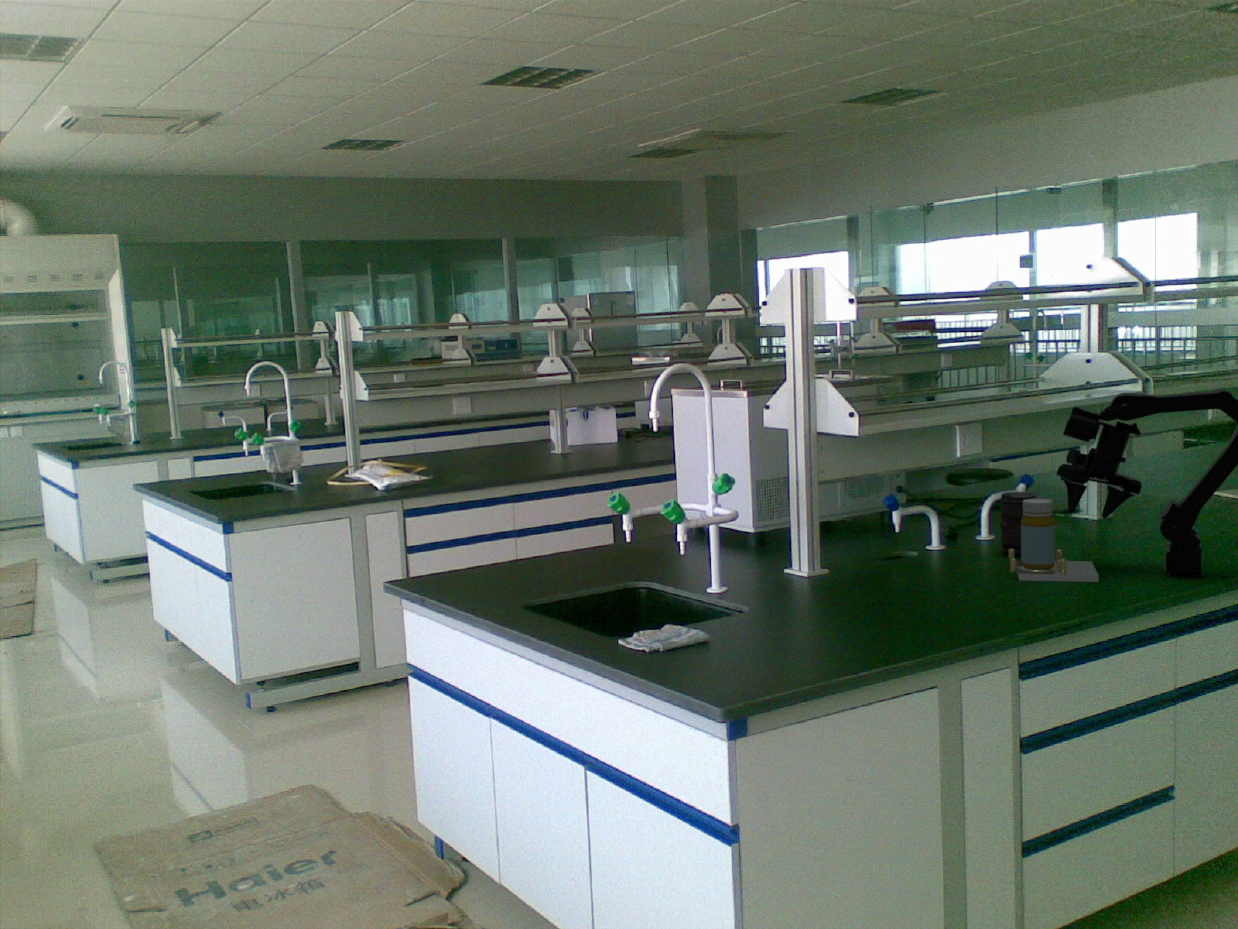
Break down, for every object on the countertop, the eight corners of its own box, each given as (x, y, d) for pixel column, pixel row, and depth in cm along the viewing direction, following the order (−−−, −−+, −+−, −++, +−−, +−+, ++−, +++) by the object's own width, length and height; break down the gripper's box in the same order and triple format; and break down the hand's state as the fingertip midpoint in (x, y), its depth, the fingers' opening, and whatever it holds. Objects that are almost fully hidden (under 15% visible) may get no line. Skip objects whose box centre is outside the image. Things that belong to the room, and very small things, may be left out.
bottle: (1057, 564, 243) (1056, 498, 241) (1052, 571, 237) (1051, 503, 235) (1024, 563, 247) (1023, 498, 245) (1018, 569, 241) (1018, 502, 239)
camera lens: (1014, 560, 257) (1013, 497, 256) (994, 554, 265) (993, 493, 263) (1043, 556, 259) (1043, 494, 258) (1022, 550, 267) (1022, 490, 265)
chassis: (1091, 567, 245) (1091, 548, 245) (1098, 582, 232) (1098, 561, 232) (1008, 566, 251) (1008, 547, 250) (1010, 580, 238) (1010, 560, 237)
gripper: (1119, 445, 248) (1097, 509, 252) (1052, 432, 242) (1030, 497, 246) (1153, 459, 238) (1129, 525, 241) (1084, 445, 232) (1061, 513, 236)
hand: (1087, 515), depth 241 cm, fingers open, 9 cm apart
